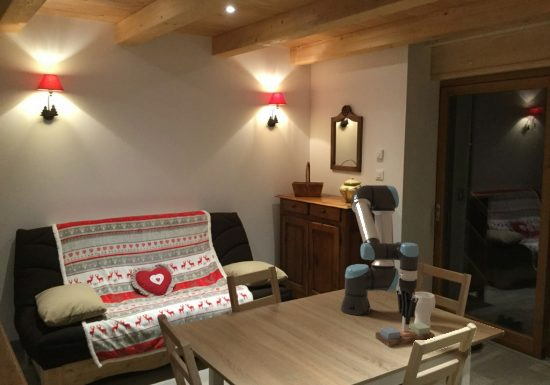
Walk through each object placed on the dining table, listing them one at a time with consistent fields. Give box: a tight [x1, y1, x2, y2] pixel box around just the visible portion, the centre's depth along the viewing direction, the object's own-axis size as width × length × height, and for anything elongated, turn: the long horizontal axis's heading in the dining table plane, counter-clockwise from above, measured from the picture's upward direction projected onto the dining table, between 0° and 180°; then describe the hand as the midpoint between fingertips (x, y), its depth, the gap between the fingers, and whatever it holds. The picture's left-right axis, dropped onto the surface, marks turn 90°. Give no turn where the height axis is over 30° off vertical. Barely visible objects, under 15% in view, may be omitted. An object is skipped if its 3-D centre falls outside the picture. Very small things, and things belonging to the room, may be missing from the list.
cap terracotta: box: [395, 328, 415, 337], centre depth 215 cm, size 6×6×3 cm
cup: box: [413, 291, 436, 328], centre depth 231 cm, size 11×11×15 cm
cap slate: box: [379, 326, 400, 340], centre depth 212 cm, size 6×6×3 cm
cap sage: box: [409, 323, 431, 335], centre depth 218 cm, size 6×6×3 cm
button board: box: [375, 327, 436, 348], centre depth 215 cm, size 24×10×2 cm, turn 111°
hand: (405, 330), depth 215 cm, fingers closed
